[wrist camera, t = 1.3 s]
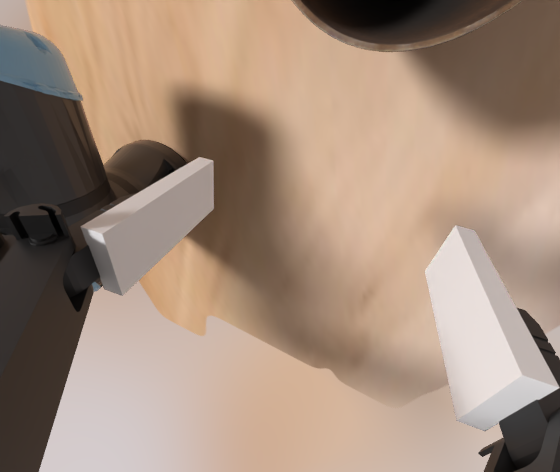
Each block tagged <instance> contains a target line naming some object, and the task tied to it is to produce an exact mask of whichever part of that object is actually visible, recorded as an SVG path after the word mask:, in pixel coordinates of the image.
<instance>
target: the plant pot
mask: <svg viewBox="0 0 560 472" xmlns="http://www.w3.org/2000/svg"><path fill="white" fill-rule="evenodd" d="M292 1H293V3H294V4H295V5H296V6H297V8H298V9H299V10H300V11H301V12H302V13H303V14H304V15H305V16H306V17H307V18H308V19H309V20H310V21H311V22H312V23H313V24H314V25H315V26H317V27H318V28H319V29H321V30H322V31H324V32H325V33H327V34H328V35H330V36H331V37H333V38H335V39H337V40H339V41H341V42H343V43H346V44H348V45H351V46H354V47H357V48H361V49H365V50H372V51H379V52H402V51H410V50H417V49H422V48H427V47H432V46H435V45H438V44H442V43H445V42H448V41H450V40H453V39H456V38H458V37H461V36H463V35H465V34H467V33H469V32H471V31H474V30H476V29H478V28H479V27H481V26H483V25H485V24H487V23H489V22H491V21H492V20H494V19H496V18H497V17H499V16H500V15H502V14H504V13H505V12H507V11H508V10H510V9H511V8H513V7H514V6H515V5H517V4H518V3H520V2H521V1H523V0H292Z"/></svg>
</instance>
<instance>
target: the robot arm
mask: <svg viewBox="0 0 560 472" xmlns="http://www.w3.org/2000/svg"><path fill="white" fill-rule="evenodd" d="M82 100H83V98H82V95H81V94H80V93H79V92H78V91H77V88H76V86H75V83H74V81H73V78H72V76H71V73H70V71H69V69H68V66H67V64H66V61H65V59H64V57H63V55H62V53H61V52H60V50H59V49H58V48H57V47H56V46H55V45H54V44H53V43H52V42H51V41H50V40H48V39H47V38H45V37H43V36H41V35H39V34H37V33H34V32H31V31H26V30H22V29H17V28H12V27H7V26H1V25H0V472H39V468H40V465H41V462H42V459H43V455H44V452H45V449H46V446H47V442H48V439H49V436H50V432H51V429H52V426H53V423H54V419H55V416H56V413H57V410H58V406H59V403H60V400H61V397H62V394H63V390H64V387H65V384H66V381H67V377H68V374H69V371H70V367H71V364H72V361H73V358H74V354H75V351H76V348H77V345H78V341H79V338H80V335H81V331H82V328H83V325H84V322H85V318H86V315H87V312H88V309H89V306H90V302H91V299H92V296H93V292H94V291H97V290H99V289H100V288H101V287H102V286H103V287H104V289H105V290H108V291H111V292H113V293H116V294H119V295H122V296H123V295H124V294H125V293H126V292H127V291H128V290H129V289H130V288H131V287H132V286H133V285H134V284H136V283H137V282H138V281H139V280H140V279H141V278H142V277H143V276H144V275H145V274H146V273H147V272H148V271H149V270H150V269H151V268H152V267H153V266H154V265H155V264H156V263H158V262H159V261H160V260H161V259H162V258H163V257H164V256H165V255H166V254H167V253H168V252H169V251H170V250H171V249H172V248H173V247H174V246H175V245H176V244H177V243H179V242H180V241H181V240H182V239H183V238H184V237H185V236H186V235H187V234H188V233H189V232H190V231H191V230H192V229H193V228H194V227H195V226H196V225H197V224H198V223H199V222H201V221H202V220H203V219H204V218H205V217H206V216H207V215H208V214H209V213H210V212H211V211H212V210H213V209H214V161H213V160H209V159H206V158H202V157H198V158H197V159H195V160H193V161H191V162H190V163H188V164H187V163H186V162H185V161H184V160H183V159H182V158H181V157H180V156H179V155H178V154H177V153H175V152H174V151H173V150H171V149H170V148H168V147H167V146H165V145H163V144H160V143H158V142H155V141H150V140H139V141H135V142H133V143H130V144H127V145H125V146H123V147H121V148H120V149H118V150H117V151H116V152H115V154H114V155H113V156H112V157H111V158H110V159H109V160H108V161H107V162H106V163H105V164H104V165H103V163H102V160H101V157H100V155H99V152H98V149H97V146H96V143H95V141H94V138H93V135H92V132H91V130H90V127H89V124H88V121H87V118H86V115H85V112H84V109H83V106H82V103H81V101H82ZM425 274H426V279H427V284H428V288H429V293H430V298H431V302H432V307H433V312H434V316H435V321H436V326H437V331H438V335H439V340H440V345H441V349H442V354H443V359H444V363H445V368H446V373H447V378H448V382H449V387H450V391H451V396H452V401H453V406H454V410H455V415H456V419H457V421H459V422H462V423H464V424H467V425H470V426H472V427H475V428H478V429H481V430H483V431H486V430H488V429H490V428H491V427H493V426H495V425H496V424H498V423H499V425H500V428H501V431H502V434H503V437H504V438H502V439H500V440H498V441H496V442H494V443H492V444H490V445H488V446H486V447H485V448H483V449H482V450H481V451H480V452H479V454H480V455H481V456H482V457H483V456H485V455H487V454H489V453H491V455H490V458H489V460H488V462H487V465H486V467H485V470H484V472H560V360H559V357H558V356H556V355H555V353H556V352H555V351H554V349H553V347H552V346H551V344H550V343H548V339H547V337H546V335H545V334H544V332H543V330H542V329H541V327H540V325H539V324H538V323H537V322H536V321H535V320H534V319H533V318H532V317H531V316H530V315H529V314H528V313H527V312H526V311H525V310H522V309H519V308H516V306H515V304H514V302H513V300H512V299H511V297H510V295H509V293H508V291H507V289H506V287H505V286H504V284H503V282H502V280H501V278H500V276H499V274H498V273H497V271H496V269H495V267H494V265H493V263H492V262H491V260H490V258H489V256H488V254H487V252H486V250H485V249H484V247H483V245H482V243H481V241H480V239H479V237H478V236H477V234H476V232H475V230H472V229H468V228H465V227H461V226H457V225H455V226H454V228H453V229H452V231H451V232H450V234H449V235H448V237H447V239H446V240H445V242H444V243H443V245H442V246H441V248H440V249H439V251H438V252H437V254H436V255H435V257H434V258H433V260H432V261H431V263H430V264H429V266H428V267H427V269H426V270H425Z"/></svg>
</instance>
